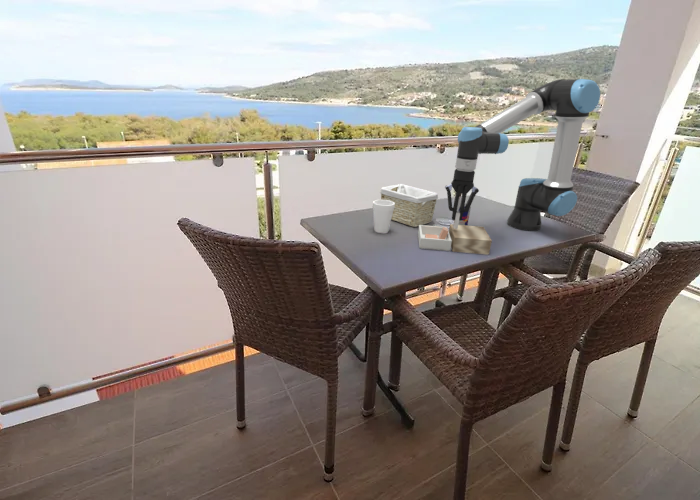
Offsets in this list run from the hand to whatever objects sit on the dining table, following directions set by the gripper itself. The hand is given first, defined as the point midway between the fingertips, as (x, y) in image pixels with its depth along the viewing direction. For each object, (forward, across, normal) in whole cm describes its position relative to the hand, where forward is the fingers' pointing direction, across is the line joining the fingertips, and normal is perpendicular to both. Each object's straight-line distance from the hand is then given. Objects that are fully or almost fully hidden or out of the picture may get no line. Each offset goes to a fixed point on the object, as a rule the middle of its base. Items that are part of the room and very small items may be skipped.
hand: (455, 227), depth 152 cm
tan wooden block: (+7, +6, 0) cm, 10 cm away
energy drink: (+8, +6, +19) cm, 21 cm away
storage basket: (+8, -19, +29) cm, 35 cm away
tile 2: (+4, -3, 0) cm, 5 cm away
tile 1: (+5, -9, 0) cm, 10 cm away
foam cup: (+8, -30, +9) cm, 32 cm away
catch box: (+7, -8, 0) cm, 11 cm away
